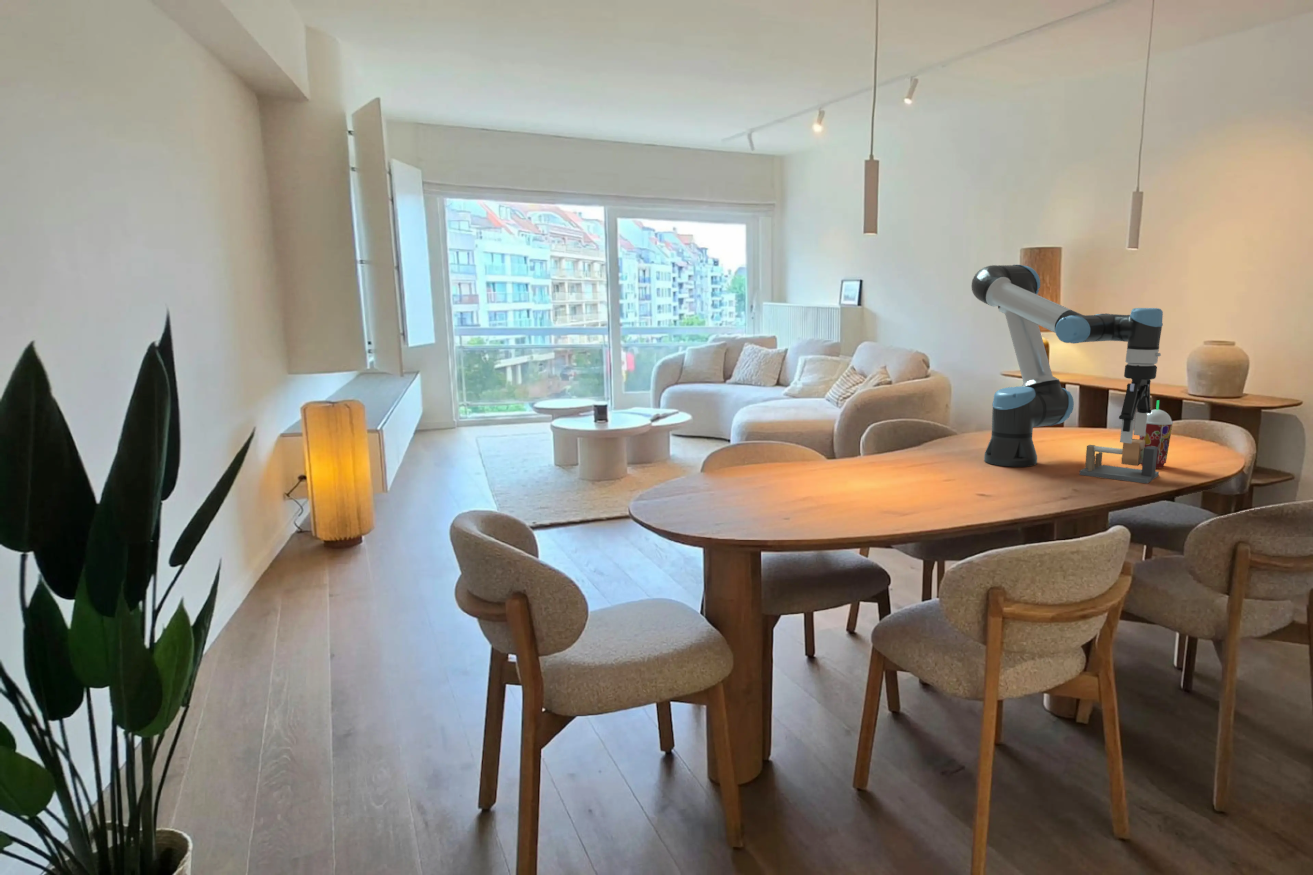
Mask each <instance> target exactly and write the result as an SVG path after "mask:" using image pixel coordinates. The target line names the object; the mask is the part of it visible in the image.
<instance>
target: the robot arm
mask: <svg viewBox="0 0 1313 875" xmlns="http://www.w3.org/2000/svg"><path fill="white" fill-rule="evenodd" d="M1039 289H1041V279H1040V276H1039V274H1038V272H1037V271H1036V270H1035V269H1034V268H1033V267H1031V266H1027V265H1022V264H1012V265H1011V264H1009V265H1004V264H1003V265H996V264H995V265H993V264H992V265H987V266H984V267H982V268H980V269H979V270H978V271H977V272H976V273H975V274H974V276H973V278H972V281H971V291H972V294H973V296H974V297H975V298H976V299H977V300H978V301H980V302H982V303H984V304H985V305H988V306H990V307H993V308H994V307H997V309H998V312H1001V313H1002V314H1004V316H1005V319H1006V323H1007V326H1008V330H1009V334H1010V338H1011V341H1012V345H1013V348H1014V353H1015V355H1016V360H1017V364H1018V368H1019V371H1020V375H1021V379H1022V381H1023V382H1022V385H1021V386H1019V385H1018V386H1011V387H1010V386H1009V387H1004V388H1000V389H998V390H997V391H996V392H995V393H994V394H993V401H992V412H991V413H992V416H991V417H992V418H991V436H990V440H989V443H988V445H987V447H986V449H985V452H984V457H983V459H984V460H983V461H984V462H985V463H987V464H991V465H995V466H1000V467H1013V468H1014V467H1015V468H1018V467H1019V468H1021V467H1026V468H1027V467H1033V466H1036V465H1037V464H1038V455H1037V451H1036V448H1035V444H1034V441H1033V431H1034V430H1033V429H1034V428H1038V427H1044V426H1045V427H1046V426H1048V427H1053V426H1054V425H1060V424H1062V423H1065V422H1066V421H1067V420H1068V419H1069V418H1070V416H1071V415H1072V413H1073V410H1074V404H1075V403H1074V402H1075V401H1074V396H1073V395H1072V394H1071V392H1070V391H1069V390H1067V389H1066V388H1064V387H1062V386H1061V382H1060V379H1059V378H1057V377H1055V376H1053V374H1052V369H1051V366H1050V361H1049V359H1048V358H1049V357H1048V355H1047V352H1046V348H1045V343H1044V341H1043V336H1042V333H1041V329H1040V327H1042V328H1044V329H1046V330H1049V331H1051V332H1052V333H1055V335H1056V337H1057V339H1058V340H1059V341H1060V342H1063V343H1066V344H1080V343H1091V342H1092V343H1094V342H1109V341H1110V342H1126V343H1127V347H1126V354H1125V363H1127V364H1125V366H1124V375H1123V376H1124V378H1125V379H1129V380H1130V379H1131V383H1129V382H1128V383H1127V385H1126V392H1125V396H1124V399H1123V400H1124V401H1123V404H1122V408H1121V412H1120V415H1119V417H1118V419H1119V420H1122V421H1121V427H1120V428H1121V430H1120V440H1119V443H1122V444H1123V443H1130V444H1131V443H1132V439H1133V436H1139V437H1140V436H1145V432H1146V423H1147V415H1148V414H1147V413H1151V410H1152V408H1151V382H1152V381H1151V380H1155V379H1156V378H1157V370H1158V366H1157V365H1156V364H1158V359H1159V357H1161V356H1162V355H1161V352H1159V351H1160V341H1161V336H1162V329H1163V326H1164V325H1163V319H1164V318H1163V317H1164V316H1163V315H1164V311H1163V310H1162V309H1161V308H1158V307H1135V308H1132V310H1130V314H1118V313H1117V314H1114V313H1098V314H1089V315H1087V314H1086V315H1085V314H1082V313H1079V312H1077V311H1075V310H1072V308H1071V309H1070V308H1068V307H1066V306H1063V305H1061V304H1059V303H1057V302H1054V301H1053V300H1050V299H1048V298H1046V297H1043V296H1041V295H1039V292H1040V290H1039ZM1134 417H1135V419H1134Z"/></svg>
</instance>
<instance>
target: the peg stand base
mask: <svg viewBox="0 0 1313 875" xmlns="http://www.w3.org/2000/svg"><path fill="white" fill-rule="evenodd" d="M1157 449H1158V447H1152V446H1147V447H1145V448H1144V449H1143V450H1142V451H1140V457H1141V459H1143V464H1142V465H1141V466H1142V467H1141V469H1139V468H1129V467H1122V466H1121V467H1120V466H1115V465H1114V466H1113V465H1105V464H1102V463H1103V462H1102V461H1103V453H1106V454H1112V455H1122V451H1123V448H1119V447H1118V448H1117V447H1116V448H1115V447H1108V446H1099V445H1095V444H1088V445H1086V450H1085V451H1086V452H1085V465H1084V468H1082V469H1081V470H1079V476H1087V477H1094V478H1100V479H1111V480H1116V481H1117V480H1118V481H1125V482H1131V483H1132V482H1133V483H1140V484H1149V483H1151V482H1152V481H1153V480H1155V479H1156V478H1158V476H1159V473H1160V471H1157V470H1156V469H1157V468H1156V460H1157ZM1095 453H1096V454H1095Z"/></svg>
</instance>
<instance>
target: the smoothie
mask: <svg viewBox="0 0 1313 875" xmlns="http://www.w3.org/2000/svg"><path fill="white" fill-rule="evenodd" d="M1155 406H1156V407H1155V408H1156V409H1155V408H1154V409H1150V410H1151V413H1147V414H1148V415H1147V423H1146V432H1145V436H1139V439H1140V440H1145V447H1147V446H1152V447H1158V449H1157V460H1156V469H1160V468H1161V469H1162V468H1163V467H1164V466H1165V464H1167V458H1168V451H1169V446H1170V442H1171V436H1172V435H1171V434H1172V429H1173V424H1174V421H1173V419H1172V417H1171V416H1170V414H1169V413H1167V412H1166V411H1165V410H1162V409H1160V399H1159V400H1156V405H1155ZM1142 464H1143V463H1142ZM1142 464H1140V466H1142Z"/></svg>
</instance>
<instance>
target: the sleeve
mask: <svg viewBox="0 0 1313 875" xmlns="http://www.w3.org/2000/svg"><path fill="white" fill-rule="evenodd" d="M1144 448H1145V440H1140V438H1139V439H1138V438H1132V443H1131V444H1130V443H1122V449H1123V451H1122V454H1121V462H1120V463H1121V465H1127V466H1135V467H1138V466H1141V464H1142V463H1143V459H1141V457H1140V451H1142V450H1143V449H1144Z"/></svg>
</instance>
